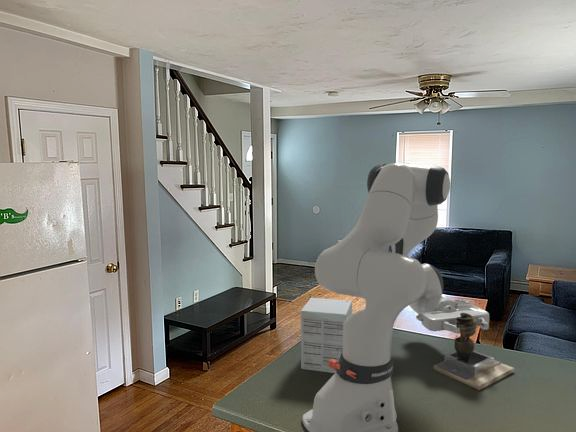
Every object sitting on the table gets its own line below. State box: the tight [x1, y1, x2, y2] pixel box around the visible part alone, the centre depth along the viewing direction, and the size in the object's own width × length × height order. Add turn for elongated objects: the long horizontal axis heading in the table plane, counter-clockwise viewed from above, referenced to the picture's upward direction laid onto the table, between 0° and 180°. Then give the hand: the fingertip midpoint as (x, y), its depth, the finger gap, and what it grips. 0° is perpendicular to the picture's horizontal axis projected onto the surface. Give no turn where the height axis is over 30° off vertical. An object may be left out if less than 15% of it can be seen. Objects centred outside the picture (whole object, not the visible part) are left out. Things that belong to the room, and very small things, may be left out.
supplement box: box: [300, 297, 353, 374], centre depth 128 cm, size 13×13×18 cm
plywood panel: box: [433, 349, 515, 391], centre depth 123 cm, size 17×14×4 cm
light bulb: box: [454, 313, 478, 362], centre depth 123 cm, size 6×6×15 cm
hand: (472, 328), depth 122 cm, fingers open, 8 cm apart
